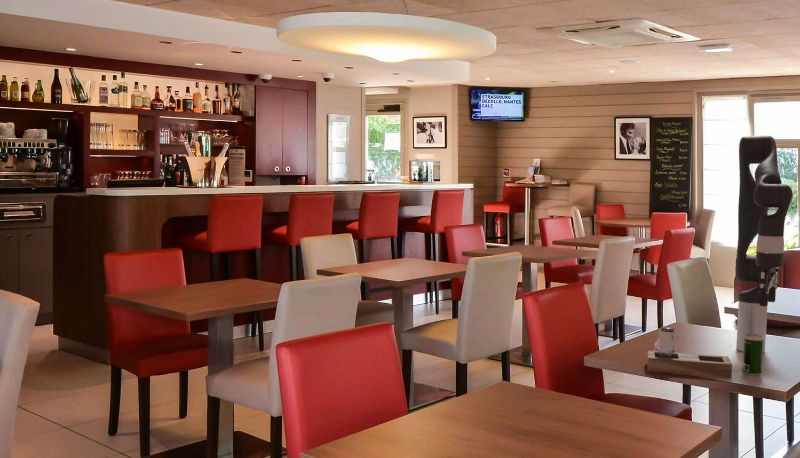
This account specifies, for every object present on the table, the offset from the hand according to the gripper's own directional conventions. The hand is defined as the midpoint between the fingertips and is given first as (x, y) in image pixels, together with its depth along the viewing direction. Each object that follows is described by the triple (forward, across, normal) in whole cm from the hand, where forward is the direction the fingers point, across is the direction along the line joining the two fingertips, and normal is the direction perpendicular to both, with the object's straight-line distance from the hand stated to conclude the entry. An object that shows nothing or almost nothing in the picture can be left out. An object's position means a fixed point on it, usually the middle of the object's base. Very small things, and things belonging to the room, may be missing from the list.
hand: (767, 303), depth 248 cm
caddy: (+22, +11, -19) cm, 31 cm away
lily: (+23, -2, -33) cm, 40 cm away
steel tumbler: (+22, +13, -25) cm, 36 cm away
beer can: (+23, -1, -4) cm, 23 cm away
